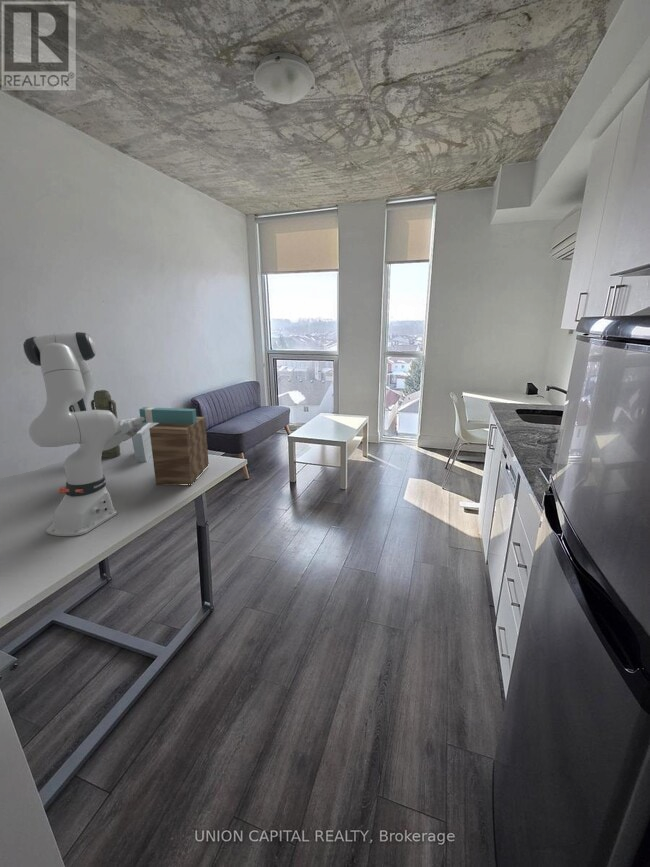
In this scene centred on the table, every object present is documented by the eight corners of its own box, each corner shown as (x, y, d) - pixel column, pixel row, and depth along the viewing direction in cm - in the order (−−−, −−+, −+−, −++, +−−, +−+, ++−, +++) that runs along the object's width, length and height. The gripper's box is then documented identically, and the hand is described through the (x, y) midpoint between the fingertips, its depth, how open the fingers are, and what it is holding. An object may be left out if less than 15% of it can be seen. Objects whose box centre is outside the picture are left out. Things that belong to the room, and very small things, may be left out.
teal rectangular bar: (193, 424, 162) (192, 410, 160) (140, 422, 163) (139, 409, 161) (196, 421, 166) (195, 408, 164) (145, 420, 167) (144, 407, 165)
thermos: (119, 458, 191) (110, 392, 181) (95, 458, 190) (84, 392, 179) (126, 452, 199) (117, 389, 189) (103, 452, 198) (93, 389, 188)
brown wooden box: (191, 485, 161) (186, 429, 153) (156, 484, 161) (149, 428, 154) (208, 467, 182) (205, 417, 174) (177, 466, 182) (172, 415, 175)
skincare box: (146, 449, 205) (143, 422, 201) (156, 449, 206) (153, 422, 202) (134, 462, 185) (130, 433, 181) (146, 462, 186) (142, 432, 182)
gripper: (107, 429, 156) (132, 414, 153) (133, 418, 175) (156, 404, 173) (116, 442, 157) (141, 427, 155) (141, 429, 177) (163, 416, 174)
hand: (149, 415), depth 164 cm, fingers open, 8 cm apart
